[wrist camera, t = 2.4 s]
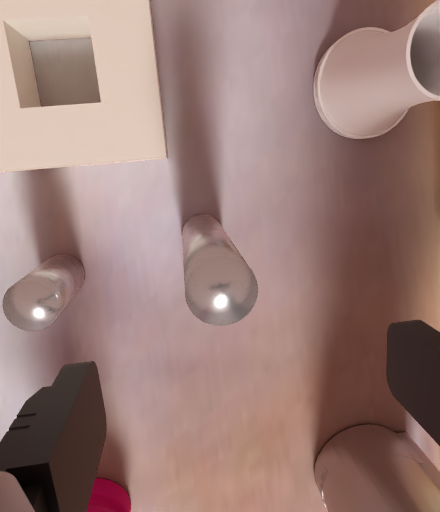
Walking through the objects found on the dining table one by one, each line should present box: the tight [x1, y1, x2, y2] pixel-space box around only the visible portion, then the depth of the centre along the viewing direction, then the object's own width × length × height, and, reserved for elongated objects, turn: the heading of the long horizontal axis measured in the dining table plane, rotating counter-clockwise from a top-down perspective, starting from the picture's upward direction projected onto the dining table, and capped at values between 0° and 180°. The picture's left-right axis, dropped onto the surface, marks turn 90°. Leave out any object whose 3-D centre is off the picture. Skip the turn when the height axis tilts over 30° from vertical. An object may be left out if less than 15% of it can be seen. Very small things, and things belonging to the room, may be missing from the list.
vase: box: [313, 0, 440, 139], centre depth 24 cm, size 8×8×10 cm
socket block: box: [0, 0, 168, 173], centre depth 25 cm, size 12×12×4 cm
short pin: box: [3, 254, 85, 331], centre depth 27 cm, size 3×3×7 cm
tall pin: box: [182, 214, 258, 326], centre depth 24 cm, size 3×3×14 cm
